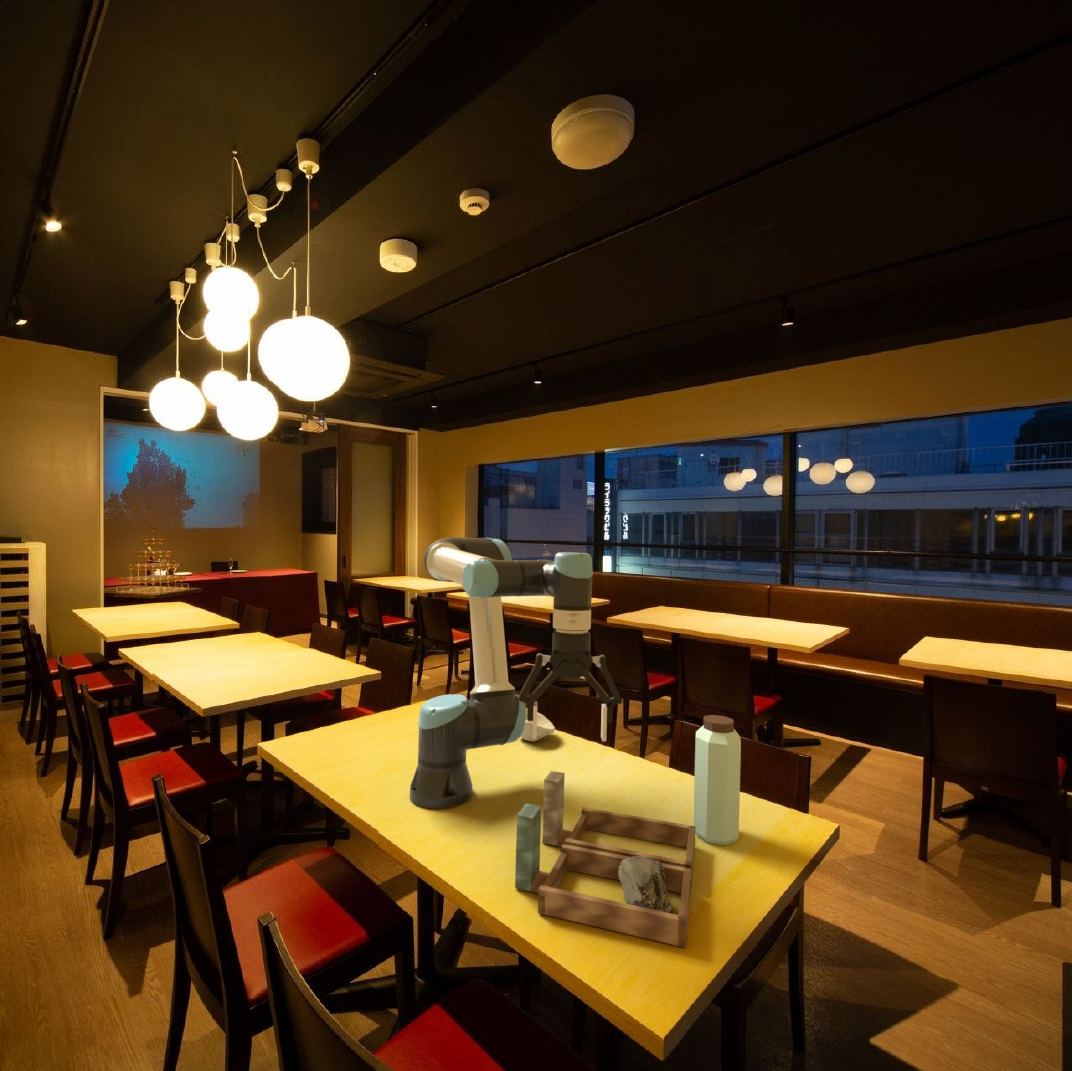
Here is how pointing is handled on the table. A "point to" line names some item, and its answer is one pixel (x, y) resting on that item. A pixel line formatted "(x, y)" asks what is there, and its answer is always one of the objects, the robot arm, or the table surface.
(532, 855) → the frame
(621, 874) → the stone
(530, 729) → the bowl
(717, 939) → the table surface
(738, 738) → the water bottle
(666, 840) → the empty lane
